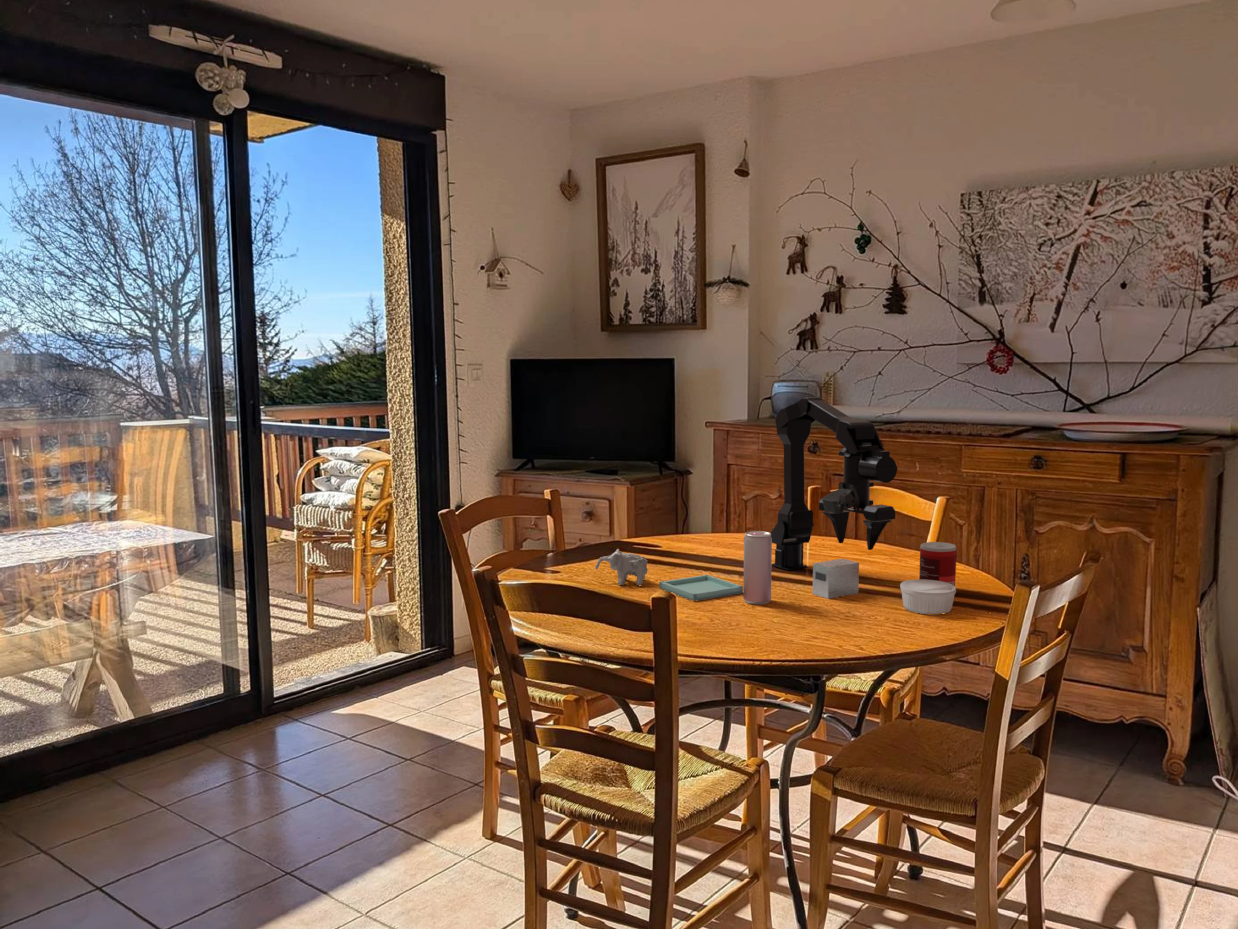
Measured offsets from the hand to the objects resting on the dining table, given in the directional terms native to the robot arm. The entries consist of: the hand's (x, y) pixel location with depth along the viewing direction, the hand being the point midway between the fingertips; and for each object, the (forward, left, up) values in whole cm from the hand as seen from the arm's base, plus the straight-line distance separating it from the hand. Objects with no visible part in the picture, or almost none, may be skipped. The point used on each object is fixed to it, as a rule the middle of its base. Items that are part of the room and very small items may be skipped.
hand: (855, 546), depth 223 cm
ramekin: (-1, +20, -11) cm, 23 cm away
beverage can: (+25, -4, -10) cm, 27 cm away
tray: (+30, -18, -10) cm, 36 cm away
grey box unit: (+6, 0, -10) cm, 12 cm away
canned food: (-13, +12, -10) cm, 21 cm away
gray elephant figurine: (+41, -34, -10) cm, 54 cm away
